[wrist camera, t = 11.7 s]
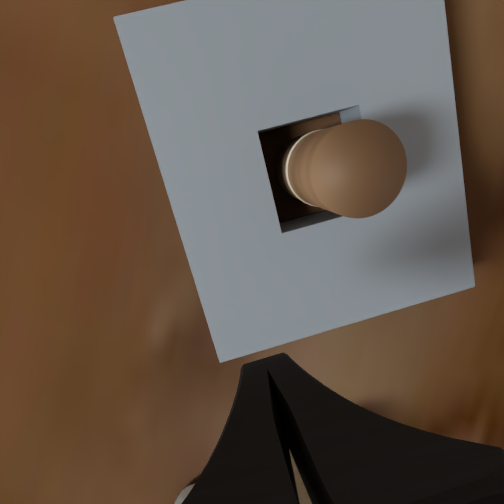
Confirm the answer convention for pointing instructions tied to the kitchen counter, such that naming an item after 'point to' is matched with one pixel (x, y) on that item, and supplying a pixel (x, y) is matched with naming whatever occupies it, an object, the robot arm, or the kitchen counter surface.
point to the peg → (345, 168)
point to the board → (287, 113)
